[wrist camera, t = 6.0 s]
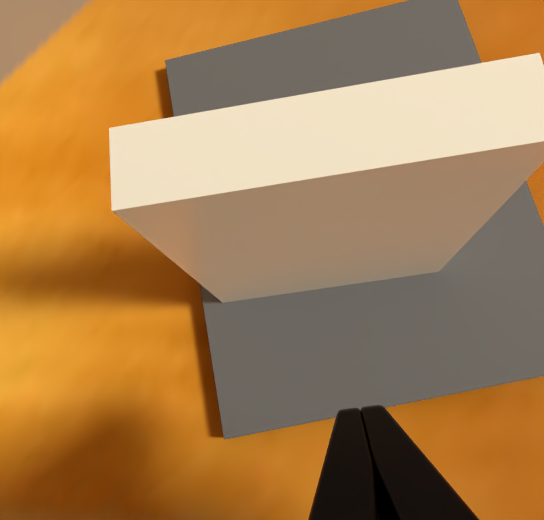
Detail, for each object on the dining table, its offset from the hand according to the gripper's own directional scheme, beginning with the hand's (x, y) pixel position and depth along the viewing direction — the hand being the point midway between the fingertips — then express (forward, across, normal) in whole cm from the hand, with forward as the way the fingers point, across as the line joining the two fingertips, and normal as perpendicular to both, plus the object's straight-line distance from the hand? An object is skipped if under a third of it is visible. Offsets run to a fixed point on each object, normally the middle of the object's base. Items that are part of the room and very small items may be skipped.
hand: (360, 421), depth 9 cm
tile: (+8, 0, +1) cm, 8 cm away
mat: (+10, -1, 0) cm, 10 cm away
